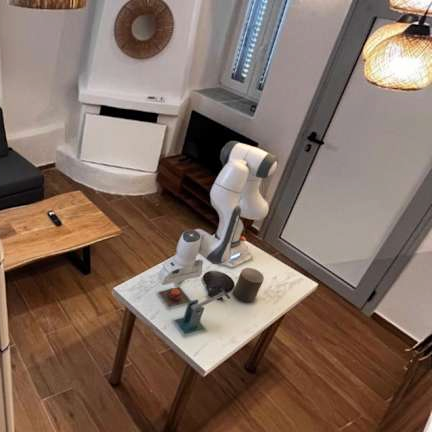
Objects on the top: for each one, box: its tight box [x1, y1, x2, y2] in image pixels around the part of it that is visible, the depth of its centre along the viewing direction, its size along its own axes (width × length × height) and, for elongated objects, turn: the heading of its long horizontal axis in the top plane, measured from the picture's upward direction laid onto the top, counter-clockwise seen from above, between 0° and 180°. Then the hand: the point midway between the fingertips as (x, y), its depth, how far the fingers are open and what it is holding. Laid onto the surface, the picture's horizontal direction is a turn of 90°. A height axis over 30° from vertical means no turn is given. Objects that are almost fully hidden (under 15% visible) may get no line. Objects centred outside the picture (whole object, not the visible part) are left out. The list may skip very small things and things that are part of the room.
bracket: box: [174, 299, 206, 335], centre depth 170 cm, size 10×8×14 cm
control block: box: [158, 286, 191, 307], centre depth 186 cm, size 11×9×4 cm
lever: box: [191, 287, 231, 311], centre depth 167 cm, size 16×6×2 cm, turn 105°
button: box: [171, 288, 180, 297], centre depth 185 cm, size 4×4×2 cm
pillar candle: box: [232, 267, 265, 304], centre depth 184 cm, size 10×10×15 cm
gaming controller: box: [206, 283, 224, 302], centre depth 189 cm, size 10×5×6 cm
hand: (177, 285), depth 182 cm, fingers closed
